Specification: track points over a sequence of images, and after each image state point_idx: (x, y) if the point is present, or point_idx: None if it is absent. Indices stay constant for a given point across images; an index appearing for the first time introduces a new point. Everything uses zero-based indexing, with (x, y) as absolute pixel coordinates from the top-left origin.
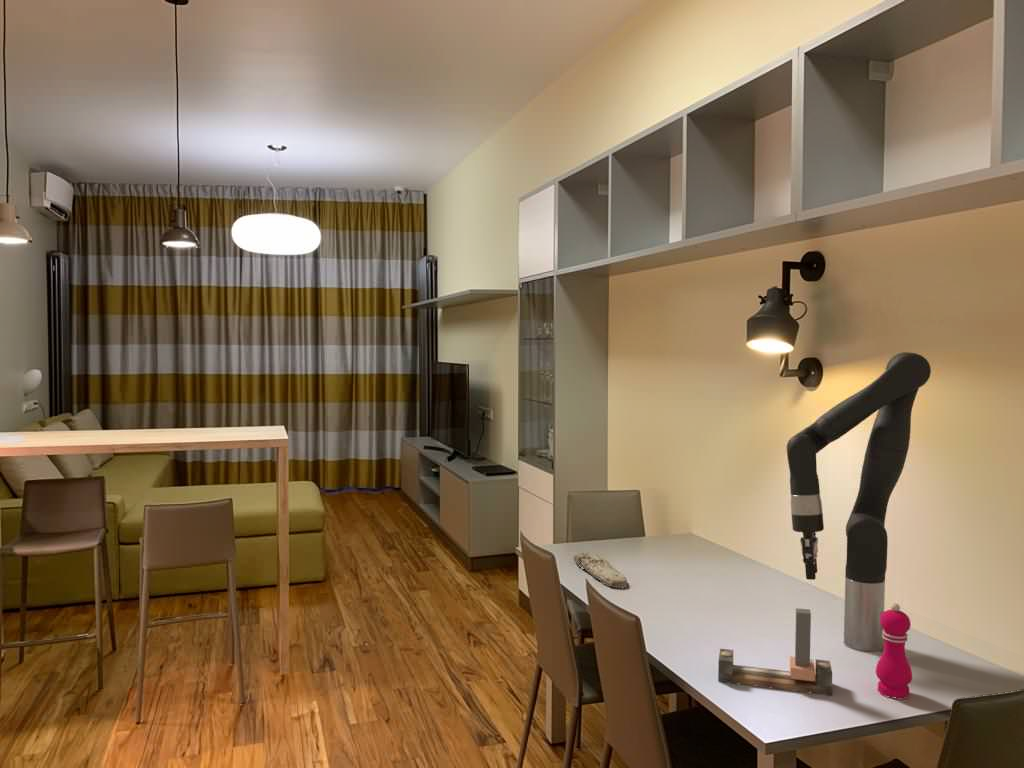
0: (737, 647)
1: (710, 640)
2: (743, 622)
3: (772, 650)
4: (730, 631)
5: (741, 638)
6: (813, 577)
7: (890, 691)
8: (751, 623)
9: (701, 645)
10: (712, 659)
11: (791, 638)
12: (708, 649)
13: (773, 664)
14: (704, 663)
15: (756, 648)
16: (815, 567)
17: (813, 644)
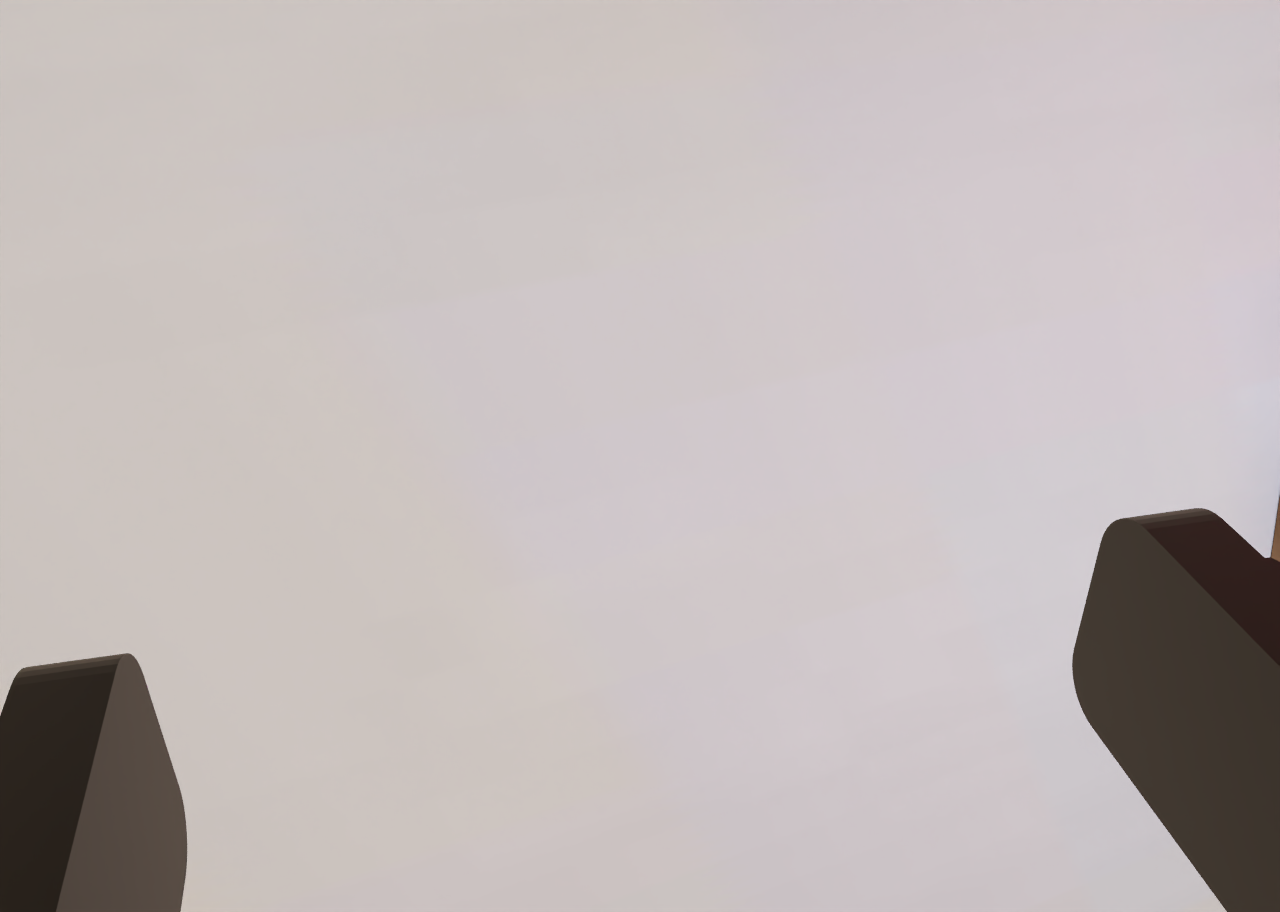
0: (827, 712)
1: (760, 899)
2: None
3: (786, 473)
4: (482, 877)
5: (610, 757)
6: (1275, 561)
7: None
8: None
9: (881, 900)
10: (1105, 756)
11: (364, 401)
12: (939, 841)
13: (1089, 387)
14: None
15: (792, 594)
16: (104, 815)
17: (427, 150)
